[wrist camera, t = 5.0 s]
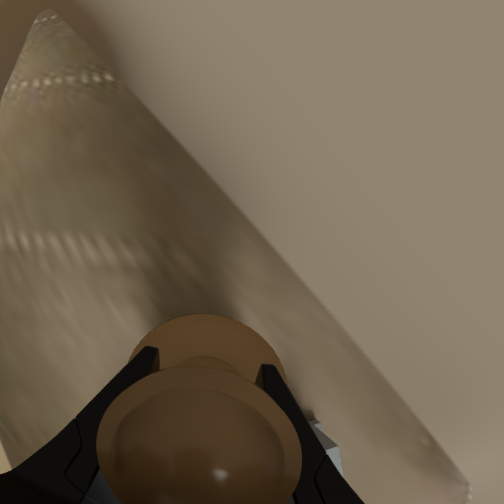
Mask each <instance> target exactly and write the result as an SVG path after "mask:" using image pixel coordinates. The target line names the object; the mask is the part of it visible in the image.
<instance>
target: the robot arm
mask: <svg viewBox="0 0 504 504" xmlns="http://www.w3.org/2000/svg"><path fill="white" fill-rule="evenodd" d="M158 370H160V355H159V349H158V348H157V347H153V346H145V347H144V348H143V349H142V350H141V351H140V352H139V353H138V354H137V355H136V356H135V357H134V358H133V359H132V360H131V361H130V362H129V363H128V364H127V365H126V366H125V367H124V368H123V369H122V370H121V371H120V372H119V373H118V374H117V375H116V376H115V377H114V378H113V379H112V380H111V381H110V382H109V383H108V384H107V385H106V386H105V387H104V388H103V389H102V390H101V391H100V392H99V393H98V394H97V395H96V396H95V397H94V398H93V399H92V400H91V401H90V402H89V403H88V404H87V405H86V406H85V407H84V408H83V410H82V411H81V412H80V413H79V414H78V415H77V416H76V417H75V418H76V419H75V418H74V419H73V420H72V421H71V422H70V423H69V424H68V425H67V426H66V427H65V428H64V429H63V430H62V431H61V432H60V433H59V434H57V435H56V436H55V437H54V438H53V439H52V440H51V441H49V442H48V443H47V444H46V445H45V446H43V447H42V448H41V449H39V450H38V451H37V452H36V453H34V454H33V455H32V456H30V457H29V458H28V459H26V460H25V461H24V462H23V463H21V464H20V465H19V466H17V467H16V468H14V469H12V470H11V471H8V472H6V473H3V474H0V504H122V503H121V502H120V501H119V500H118V499H117V497H116V496H115V495H114V494H113V492H112V491H111V489H110V488H109V486H108V485H107V483H106V481H105V479H104V477H103V475H102V472H101V469H100V466H99V463H98V458H97V448H96V441H97V433H98V429H99V425H100V422H101V419H102V418H103V416H104V414H105V412H106V410H107V408H108V407H109V406H110V404H111V403H112V402H113V400H114V399H116V398H117V397H118V396H119V395H120V394H121V393H122V392H123V391H124V390H126V389H127V388H129V387H130V386H131V385H133V384H134V383H136V382H137V381H139V380H140V379H142V378H143V377H145V376H147V375H149V374H151V373H153V372H156V371H158ZM255 384H256V385H258V386H259V387H260V388H261V389H263V390H264V391H265V392H266V393H267V394H268V395H269V396H270V397H271V398H272V399H273V400H274V401H275V403H276V404H277V405H278V406H279V407H280V408H281V409H282V410H283V411H284V412H285V414H286V415H287V417H288V418H289V420H290V421H291V423H292V424H293V426H294V428H295V430H296V433H297V435H298V438H299V442H300V445H301V452H302V468H301V473H300V478H299V481H298V484H297V486H296V488H295V490H294V492H293V494H292V496H291V497H290V499H289V500H288V501H287V503H286V504H365V503H364V502H363V501H362V500H361V499H360V497H359V496H358V495H357V494H356V493H355V492H354V490H353V489H352V488H351V487H350V486H349V484H348V483H347V482H346V480H345V479H344V478H343V477H342V475H341V474H340V472H339V471H338V469H337V468H336V466H335V465H334V463H333V462H332V460H331V458H330V457H329V455H328V454H326V453H327V452H326V450H325V449H324V447H323V446H322V444H321V442H320V441H319V439H318V437H317V436H316V434H315V432H314V431H313V429H312V427H311V426H310V424H309V422H308V421H307V419H306V417H305V416H304V414H303V412H302V411H301V409H300V407H299V406H298V404H297V402H296V400H295V399H294V397H293V395H292V394H291V392H290V390H289V388H288V387H287V385H286V383H285V382H284V380H283V378H282V376H281V375H280V373H279V371H278V369H277V368H276V366H275V365H273V364H265V363H262V364H261V365H260V368H259V371H258V374H257V377H256V381H255Z"/></svg>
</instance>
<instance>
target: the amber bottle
mask: <svg viewBox="0 0 504 504" xmlns="http://www.w3.org/2000/svg"><path fill="white" fill-rule="evenodd" d="M145 346H153V347H157V348H158V349H159V355H160V370H158V371H156V372H153V373H151V374H149V375H147V376H145V377H143V378H142V379H140V380H139V381H137V382H136V383H134V384H133V385H131V386H130V387H129V388H127V389H126V390H124V391H123V392H122V393H121V394H120V395H119V396H118V397H117V398H116V399H114V400H113V402H112V403H111V404H110V406H109V407H108V408H107V410H106V412H105V414H104V416H103V418H102V419H101V422H100V425H99V429H98V433H97V441H96V448H97V458H98V463H99V466H100V469H101V472H102V475H103V477H104V479H105V481H106V483H107V485H108V486H109V488H110V489H111V491H112V492H113V494H114V495H115V496H116V497H117V499H118V500H119V501H120V502H121V503H122V504H286V503H287V501H288V500H289V499H290V497H291V496H292V494H293V492H294V490H295V488H296V486H297V484H298V481H299V478H300V473H301V468H302V452H301V445H300V442H299V438H298V435H297V433H296V430H295V428H294V426H293V424H292V423H291V421H290V420H289V418H288V417H287V415H286V414H285V412H284V411H283V410H282V409H281V408H280V407H279V406H278V405H277V404H276V403H275V401H274V400H273V399H272V398H271V397H270V396H269V395H268V394H267V393H266V392H265V391H264V390H263V389H261V388H260V387H259V386H258V385H256V384H255V381H256V377H257V374H258V371H259V368H260V365H261V364H262V363H265V364H273V365H275V366H276V368H277V369H278V371H279V373H280V375H281V376H282V378H283V380H284V382H285V383H286V385H287V381H286V376H285V373H284V369H283V367H282V364H281V362H280V360H279V358H278V356H277V355H276V353H275V352H274V350H273V349H272V348H271V346H270V345H269V344H268V343H267V342H266V341H265V340H264V339H263V338H262V337H261V336H260V335H259V334H258V333H256V332H255V331H254V330H252V329H251V328H249V327H247V326H246V325H244V324H242V323H240V322H238V321H235V320H233V319H230V318H226V317H222V316H218V315H210V314H194V315H186V316H182V317H178V318H175V319H172V320H170V321H167V322H165V323H163V324H161V325H159V326H158V327H156V328H155V329H153V330H152V331H151V332H149V333H148V334H147V335H146V336H145V337H144V338H143V339H142V340H141V341H140V343H139V344H138V345H137V346H136V348H135V349H134V351H133V353H132V355H131V356H130V359H129V361H128V363H129V362H130V361H131V360H132V359H133V358H134V357H135V356H136V355H137V354H138V353H139V352H140V351H141V350H142V349H143V348H144V347H145Z"/></svg>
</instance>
